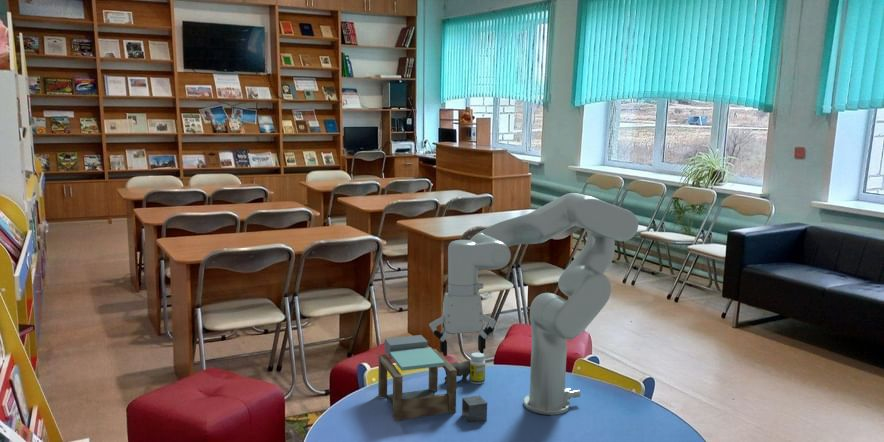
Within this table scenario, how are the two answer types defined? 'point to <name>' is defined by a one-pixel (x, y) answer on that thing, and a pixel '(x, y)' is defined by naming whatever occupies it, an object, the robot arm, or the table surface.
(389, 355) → the grey and green slab
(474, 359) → the supplement bottle
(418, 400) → the frame
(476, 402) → the block
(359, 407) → the table surface
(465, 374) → the rhino figurine
